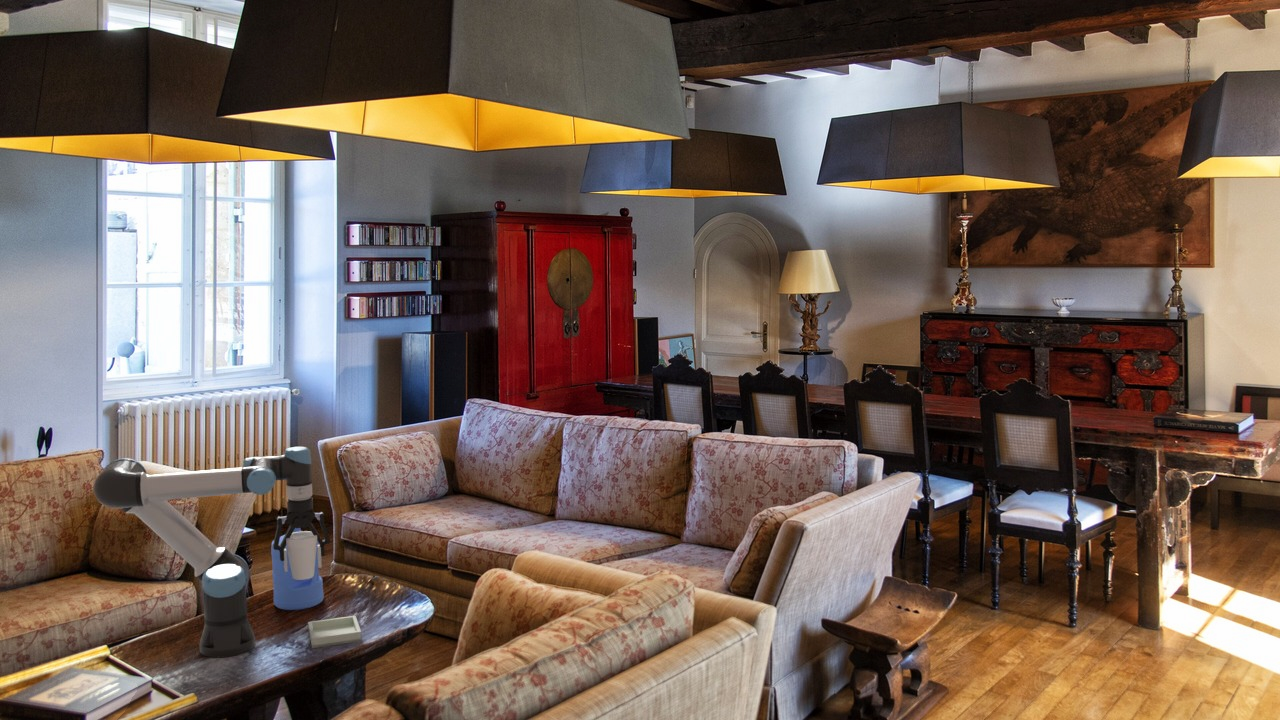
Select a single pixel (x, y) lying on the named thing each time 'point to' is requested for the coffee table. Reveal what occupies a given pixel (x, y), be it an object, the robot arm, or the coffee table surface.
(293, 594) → the water jug
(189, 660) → the coffee table surface
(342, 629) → the tray
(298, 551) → the foam cup
